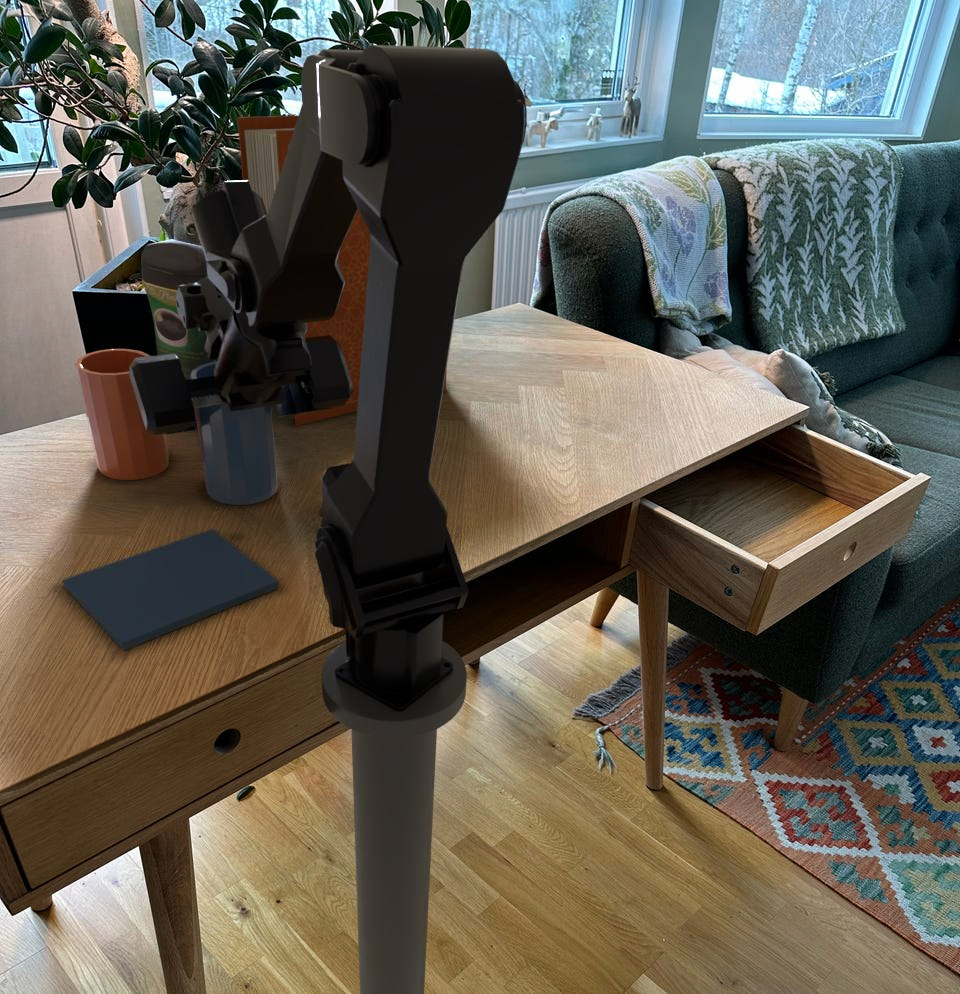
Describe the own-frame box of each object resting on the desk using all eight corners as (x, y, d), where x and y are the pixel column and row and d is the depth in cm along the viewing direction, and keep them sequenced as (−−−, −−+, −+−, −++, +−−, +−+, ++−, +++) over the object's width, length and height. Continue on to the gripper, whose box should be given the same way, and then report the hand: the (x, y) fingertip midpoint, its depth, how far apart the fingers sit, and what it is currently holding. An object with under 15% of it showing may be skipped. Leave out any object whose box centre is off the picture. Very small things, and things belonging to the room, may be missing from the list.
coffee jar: (261, 411, 105) (246, 245, 94) (215, 433, 99) (194, 260, 88) (199, 391, 108) (177, 229, 97) (151, 412, 102) (122, 242, 91)
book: (296, 425, 102) (276, 130, 84) (262, 401, 107) (237, 117, 89) (452, 388, 114) (465, 123, 96) (415, 367, 119) (421, 111, 101)
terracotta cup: (183, 464, 93) (167, 361, 86) (126, 487, 88) (105, 380, 82) (140, 444, 96) (122, 343, 89) (83, 465, 91) (60, 361, 85)
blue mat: (213, 535, 82) (212, 528, 82) (278, 588, 76) (278, 580, 76) (63, 587, 74) (61, 579, 74) (123, 651, 68) (122, 642, 68)
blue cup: (292, 487, 90) (283, 373, 83) (240, 512, 86) (226, 394, 78) (244, 466, 93) (232, 354, 86) (192, 489, 89) (174, 373, 82)
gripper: (336, 245, 76) (297, 331, 90) (112, 261, 68) (108, 353, 82) (375, 365, 76) (330, 433, 90) (154, 396, 68) (143, 465, 82)
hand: (231, 419), depth 86 cm, fingers open, 9 cm apart
